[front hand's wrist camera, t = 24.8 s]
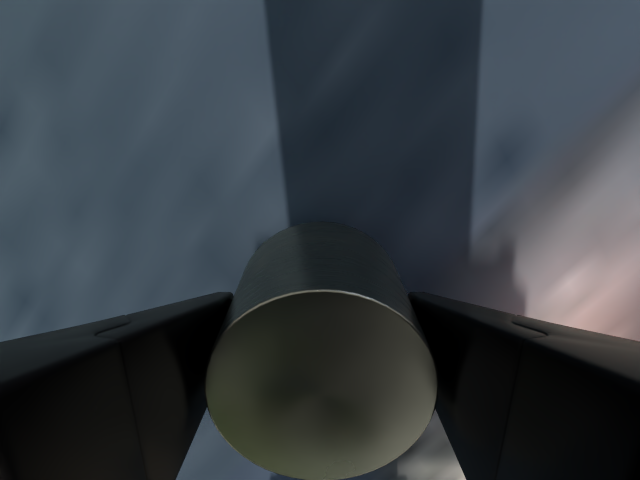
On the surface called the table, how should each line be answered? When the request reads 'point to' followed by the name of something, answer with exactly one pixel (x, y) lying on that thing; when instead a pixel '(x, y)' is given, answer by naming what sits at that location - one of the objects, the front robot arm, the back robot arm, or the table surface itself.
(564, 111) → the table surface
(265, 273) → the can
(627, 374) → the front robot arm
